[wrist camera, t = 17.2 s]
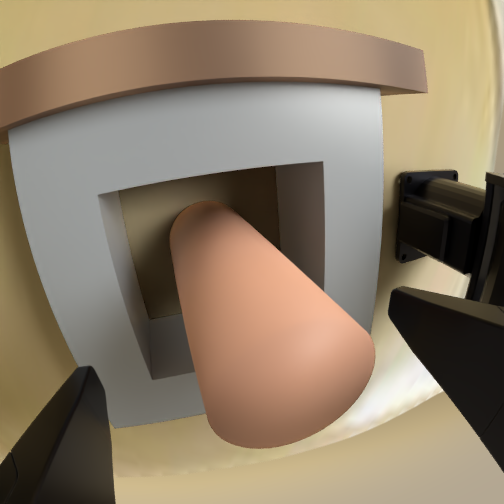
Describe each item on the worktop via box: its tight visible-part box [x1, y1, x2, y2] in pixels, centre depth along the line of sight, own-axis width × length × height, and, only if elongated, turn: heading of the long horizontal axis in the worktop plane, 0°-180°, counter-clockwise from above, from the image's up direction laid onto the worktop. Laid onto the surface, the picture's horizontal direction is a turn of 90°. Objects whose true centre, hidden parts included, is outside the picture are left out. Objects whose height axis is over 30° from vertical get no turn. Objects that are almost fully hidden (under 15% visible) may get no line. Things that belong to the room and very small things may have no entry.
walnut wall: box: [0, 20, 428, 144], centre depth 10 cm, size 18×2×6 cm, turn 95°
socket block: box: [8, 82, 384, 428], centre depth 14 cm, size 14×14×5 cm
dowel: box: [169, 201, 375, 449], centre depth 11 cm, size 4×4×11 cm
